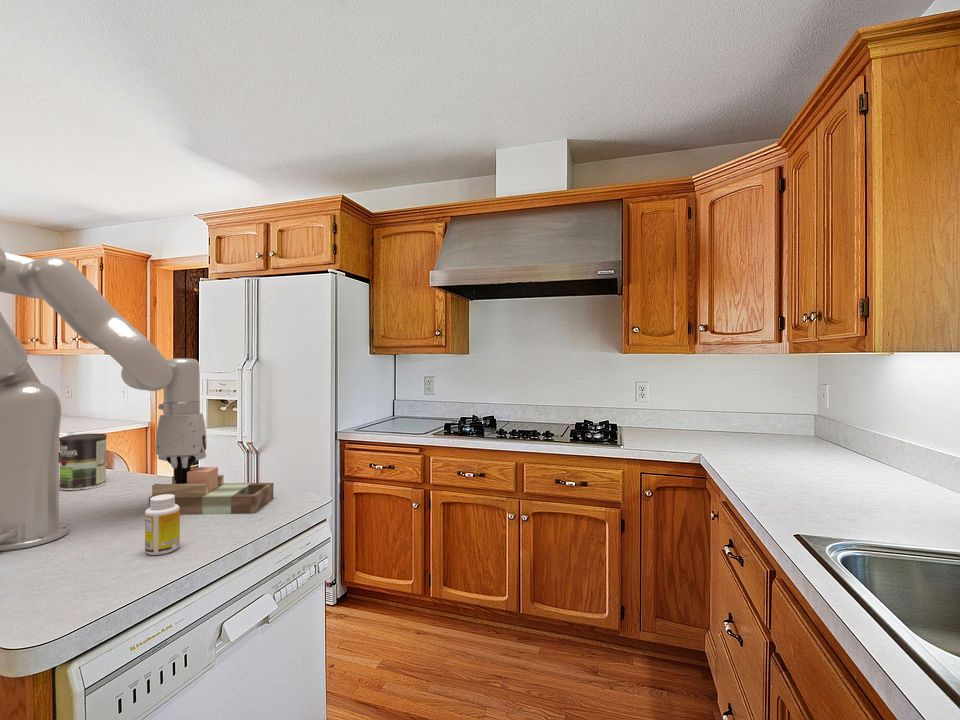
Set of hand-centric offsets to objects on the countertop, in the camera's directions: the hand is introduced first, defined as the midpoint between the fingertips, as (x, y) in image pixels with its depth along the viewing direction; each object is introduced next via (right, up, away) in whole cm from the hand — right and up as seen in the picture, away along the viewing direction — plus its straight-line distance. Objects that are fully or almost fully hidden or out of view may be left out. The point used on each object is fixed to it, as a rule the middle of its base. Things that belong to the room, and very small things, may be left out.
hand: (182, 483), depth 118 cm
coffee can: (-39, -6, +17) cm, 43 cm away
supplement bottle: (+13, -6, -26) cm, 30 cm away
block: (+5, -2, 0) cm, 5 cm away
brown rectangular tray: (+8, -6, 0) cm, 10 cm away
